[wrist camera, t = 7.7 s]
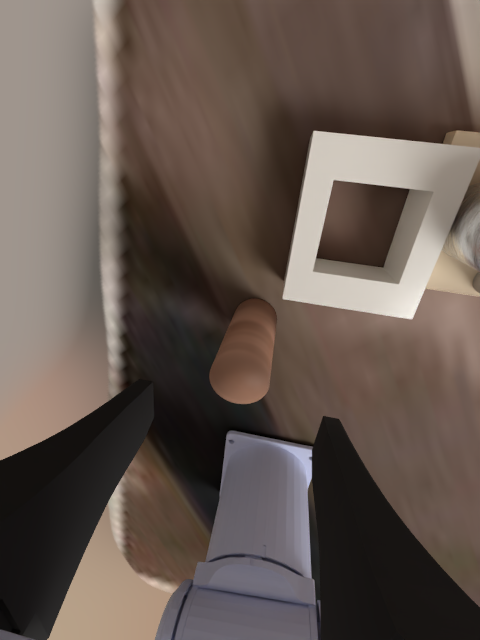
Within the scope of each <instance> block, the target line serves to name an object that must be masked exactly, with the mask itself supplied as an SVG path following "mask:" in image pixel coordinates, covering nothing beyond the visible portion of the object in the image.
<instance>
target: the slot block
mask: <svg viewBox="0 0 480 640" xmlns="http://www.w3.org/2000/svg"><path fill="white" fill-rule="evenodd" d="M479 160H480V148H477V147H467V146H457V145H448V144H438V143H428V142H418V141H409V140H399V139H389V138H379V137H370V136H360V135H350V134H340V133H331V132H321V131H313V133H312V135H311V137H310V141H309V147H308V152H307V158H306V163H305V169H304V174H303V180H302V185H301V191H300V196H299V202H298V207H297V213H296V218H295V224H294V229H293V235H292V240H291V246H290V251H289V257H288V262H287V268H286V273H285V278H284V287H283V299H286V300H292V301H298V302H305V303H311V304H317V305H324V306H330V307H336V308H343V309H349V310H355V311H362V312H368V313H374V314H381V315H387V316H393V317H400V318H406V319H413V316H414V314H415V311H416V309H417V307H418V304H419V302H420V300H421V297H422V295H423V293H424V290H425V288H426V285H427V283H428V281H429V278H430V276H431V274H432V271H433V269H434V267H435V264H436V262H437V259H438V257H439V255H440V252H441V250H442V248H443V245H444V243H445V240H446V238H447V236H448V233H449V231H450V229H451V226H452V224H453V222H454V219H455V217H456V214H457V212H458V210H459V207H460V205H461V203H462V200H463V198H464V196H465V193H466V191H467V188H468V186H469V184H470V181H471V179H472V177H473V174H474V172H475V169H476V167H477V165H478V162H479ZM333 180H339V181H347V182H356V183H364V184H373V185H381V186H390V187H398V188H407V189H410V190H409V193H408V196H407V199H406V202H405V205H404V208H403V211H402V214H401V217H400V220H399V222H398V225H397V228H396V231H395V234H394V237H393V240H392V243H391V246H390V249H389V252H388V255H387V258H386V261H385V264H384V267H383V268H382V267H375V266H368V265H361V264H354V263H347V262H340V261H333V260H326V259H319V258H316V255H317V251H318V247H319V242H320V238H321V233H322V229H323V225H324V220H325V216H326V211H327V207H328V202H329V198H330V194H331V189H332V185H333Z"/></svg>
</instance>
